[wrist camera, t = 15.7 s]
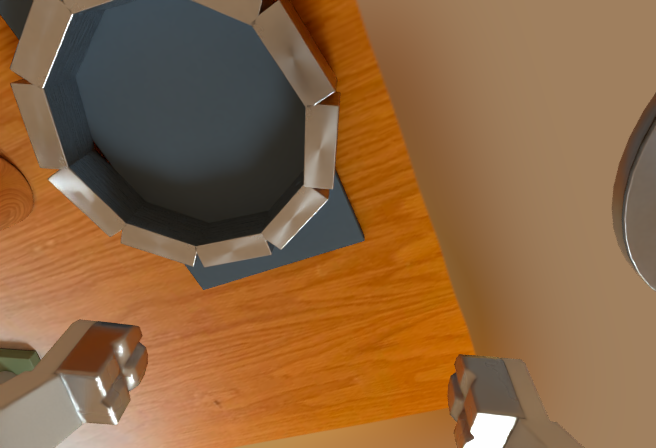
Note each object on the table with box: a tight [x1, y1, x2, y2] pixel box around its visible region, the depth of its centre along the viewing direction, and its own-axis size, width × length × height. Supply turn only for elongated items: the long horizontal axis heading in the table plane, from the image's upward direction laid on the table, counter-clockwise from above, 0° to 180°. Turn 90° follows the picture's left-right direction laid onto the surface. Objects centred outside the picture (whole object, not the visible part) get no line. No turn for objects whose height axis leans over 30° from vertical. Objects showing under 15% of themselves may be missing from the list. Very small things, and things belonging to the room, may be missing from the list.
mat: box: [0, 0, 365, 290], centre depth 26 cm, size 24×14×1 cm, turn 22°
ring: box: [10, 0, 340, 267], centre depth 24 cm, size 18×18×3 cm
